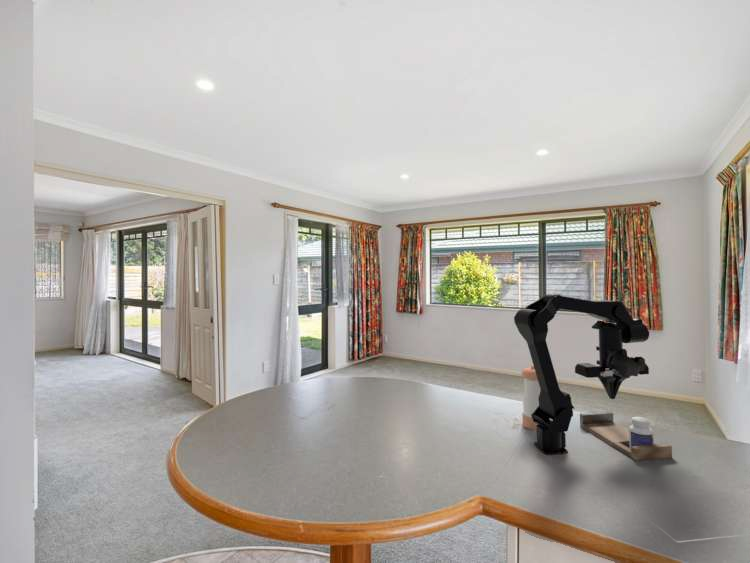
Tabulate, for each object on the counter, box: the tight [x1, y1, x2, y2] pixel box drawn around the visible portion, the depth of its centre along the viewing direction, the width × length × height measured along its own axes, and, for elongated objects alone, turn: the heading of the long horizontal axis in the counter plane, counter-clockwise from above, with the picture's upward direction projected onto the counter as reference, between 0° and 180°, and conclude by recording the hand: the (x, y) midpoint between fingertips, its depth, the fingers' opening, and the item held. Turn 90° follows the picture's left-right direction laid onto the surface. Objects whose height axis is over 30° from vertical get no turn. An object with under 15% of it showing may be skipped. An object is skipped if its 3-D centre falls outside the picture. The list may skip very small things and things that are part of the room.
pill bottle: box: [628, 416, 654, 449], centre depth 101 cm, size 5×5×9 cm
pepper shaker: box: [521, 364, 541, 430], centre depth 121 cm, size 7×7×19 cm
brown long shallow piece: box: [579, 411, 673, 461], centre depth 108 cm, size 10×22×4 cm, turn 5°
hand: (612, 398), depth 109 cm, fingers closed
